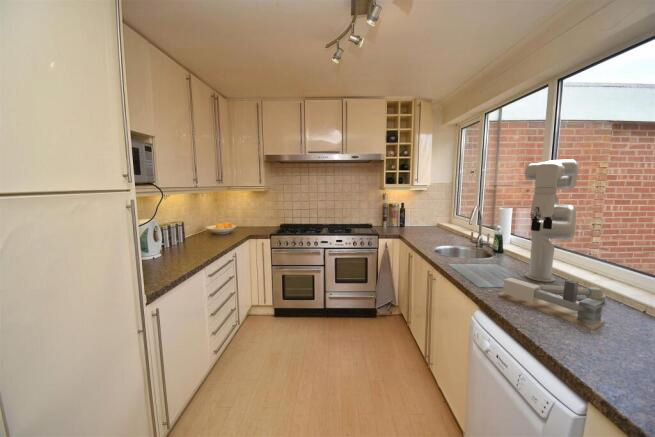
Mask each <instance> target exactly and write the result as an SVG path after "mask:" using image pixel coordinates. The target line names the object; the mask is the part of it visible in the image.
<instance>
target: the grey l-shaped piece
mask: <svg viewBox="0 0 655 437" xmlns="http://www.w3.org/2000/svg"><path fill="white" fill-rule="evenodd" d="M579 284H580V283H579V281H577V280H572V279H565V280H564V285H563V286H564V293H563V294H562V295H560V294H553V293H550V292H546V291H543V290H540V289H536V290H535V292H534V297H535V298H538V299H540V300H543V301H546V302H549V303H552V304H555V305H558V306H561V307H564V308H567V309H570V310H573V311H576V312H578V307H579V300H578V295H577V292H578V288H579Z"/></svg>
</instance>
